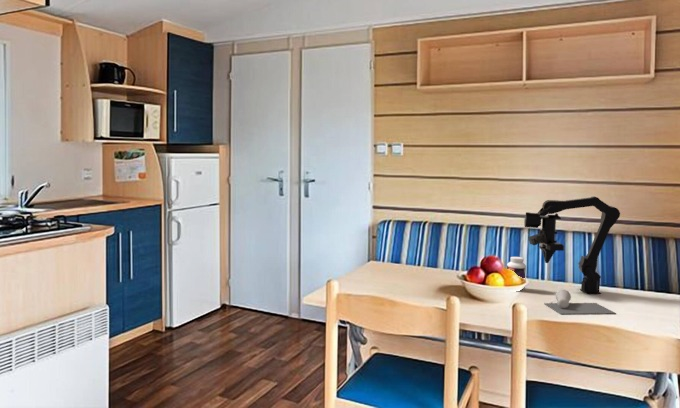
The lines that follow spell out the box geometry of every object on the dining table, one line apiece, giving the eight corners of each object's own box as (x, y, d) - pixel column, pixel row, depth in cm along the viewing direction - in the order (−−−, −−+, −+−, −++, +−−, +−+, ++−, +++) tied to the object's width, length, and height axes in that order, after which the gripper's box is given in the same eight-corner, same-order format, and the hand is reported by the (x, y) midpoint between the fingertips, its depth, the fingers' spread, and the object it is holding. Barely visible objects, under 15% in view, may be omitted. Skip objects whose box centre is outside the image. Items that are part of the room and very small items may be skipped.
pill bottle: (504, 290, 244) (505, 258, 243) (507, 286, 251) (509, 255, 250) (523, 292, 241) (524, 260, 239) (526, 288, 248) (527, 257, 246)
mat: (595, 303, 224) (595, 302, 224) (615, 314, 210) (615, 313, 210) (544, 304, 222) (544, 303, 222) (560, 314, 208) (560, 313, 208)
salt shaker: (557, 286, 226) (557, 294, 215) (572, 290, 225) (573, 299, 213) (554, 299, 228) (553, 308, 216) (568, 303, 226) (568, 313, 214)
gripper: (522, 225, 253) (520, 258, 255) (540, 231, 235) (538, 267, 236) (545, 225, 254) (543, 258, 256) (565, 231, 236) (563, 267, 237)
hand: (546, 262), depth 246 cm, fingers closed
